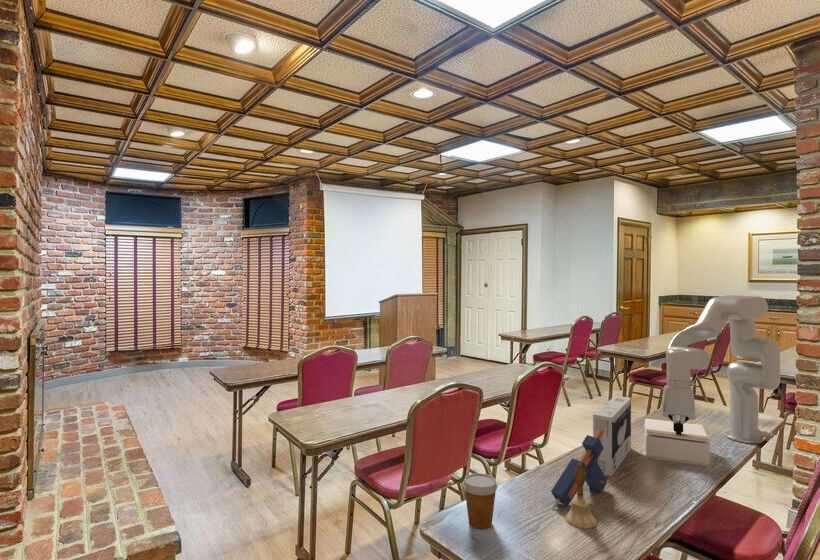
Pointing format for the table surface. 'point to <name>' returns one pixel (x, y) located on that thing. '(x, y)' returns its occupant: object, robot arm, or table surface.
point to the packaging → (613, 432)
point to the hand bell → (580, 505)
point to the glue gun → (593, 473)
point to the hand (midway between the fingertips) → (678, 433)
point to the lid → (667, 430)
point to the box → (677, 449)
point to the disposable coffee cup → (480, 499)
